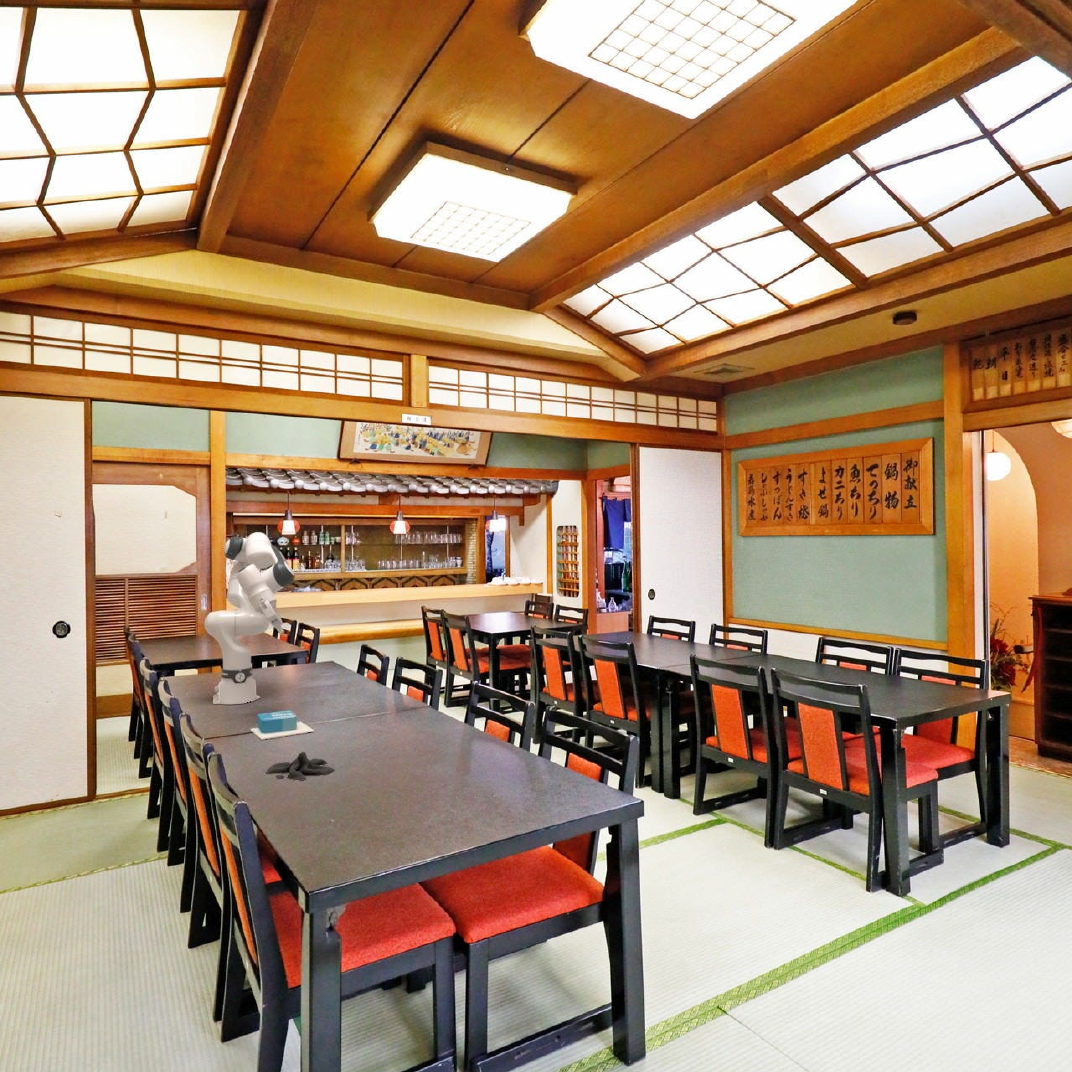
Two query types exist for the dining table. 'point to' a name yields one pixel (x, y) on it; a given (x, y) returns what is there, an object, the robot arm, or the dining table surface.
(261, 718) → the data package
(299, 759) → the cloth
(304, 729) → the pale mat
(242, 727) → the dining table surface
